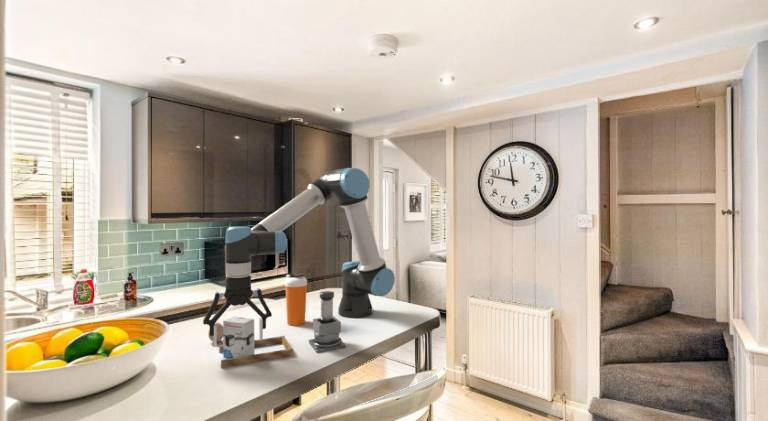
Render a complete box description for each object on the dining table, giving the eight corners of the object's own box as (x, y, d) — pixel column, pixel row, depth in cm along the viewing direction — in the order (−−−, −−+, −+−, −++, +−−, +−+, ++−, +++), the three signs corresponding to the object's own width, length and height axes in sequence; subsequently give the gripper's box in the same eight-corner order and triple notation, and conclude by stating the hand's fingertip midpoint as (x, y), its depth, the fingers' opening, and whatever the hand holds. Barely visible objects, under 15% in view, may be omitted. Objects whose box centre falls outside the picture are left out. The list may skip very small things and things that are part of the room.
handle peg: (331, 327, 133) (331, 290, 133) (335, 331, 129) (335, 293, 129) (318, 329, 131) (318, 292, 131) (321, 333, 127) (322, 294, 127)
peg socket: (336, 338, 137) (336, 314, 137) (345, 347, 128) (345, 322, 128) (308, 342, 132) (308, 318, 132) (316, 352, 123) (316, 326, 123)
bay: (284, 341, 134) (284, 335, 134) (292, 355, 121) (292, 349, 121) (219, 351, 125) (219, 345, 125) (221, 367, 112) (221, 361, 112)
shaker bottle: (302, 327, 149) (301, 276, 149) (280, 325, 151) (280, 275, 151) (310, 320, 158) (310, 272, 158) (290, 319, 160) (290, 271, 160)
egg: (216, 345, 130) (216, 325, 130) (205, 343, 132) (204, 323, 132) (227, 340, 135) (227, 321, 135) (216, 338, 137) (216, 319, 137)
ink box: (222, 357, 120) (222, 320, 120) (233, 351, 125) (233, 316, 124) (244, 361, 117) (244, 323, 117) (255, 355, 122) (254, 318, 121)
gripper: (276, 270, 129) (276, 333, 129) (194, 276, 118) (194, 344, 119) (280, 274, 122) (280, 340, 123) (194, 280, 112) (194, 352, 112)
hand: (238, 342), depth 121 cm, fingers open, 13 cm apart
